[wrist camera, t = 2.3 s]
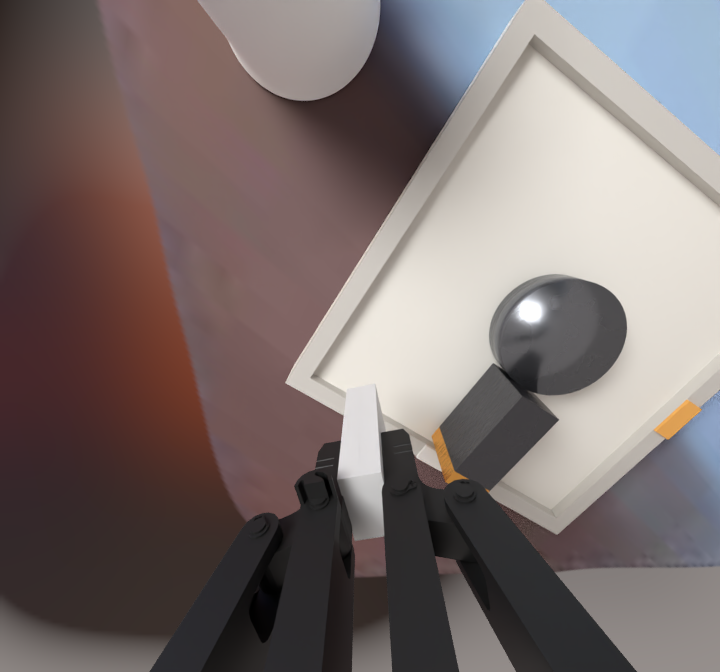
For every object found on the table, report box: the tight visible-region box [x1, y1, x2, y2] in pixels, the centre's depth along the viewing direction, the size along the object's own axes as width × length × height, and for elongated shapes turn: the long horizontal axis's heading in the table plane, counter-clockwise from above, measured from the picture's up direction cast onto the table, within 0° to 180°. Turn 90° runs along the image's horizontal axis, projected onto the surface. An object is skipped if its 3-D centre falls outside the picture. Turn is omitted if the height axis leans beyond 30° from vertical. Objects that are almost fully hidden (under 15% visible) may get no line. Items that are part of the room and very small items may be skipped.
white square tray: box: [285, 0, 720, 535], centre depth 22 cm, size 24×24×3 cm
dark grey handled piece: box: [432, 274, 627, 493], centre depth 20 cm, size 14×7×4 cm, turn 147°
